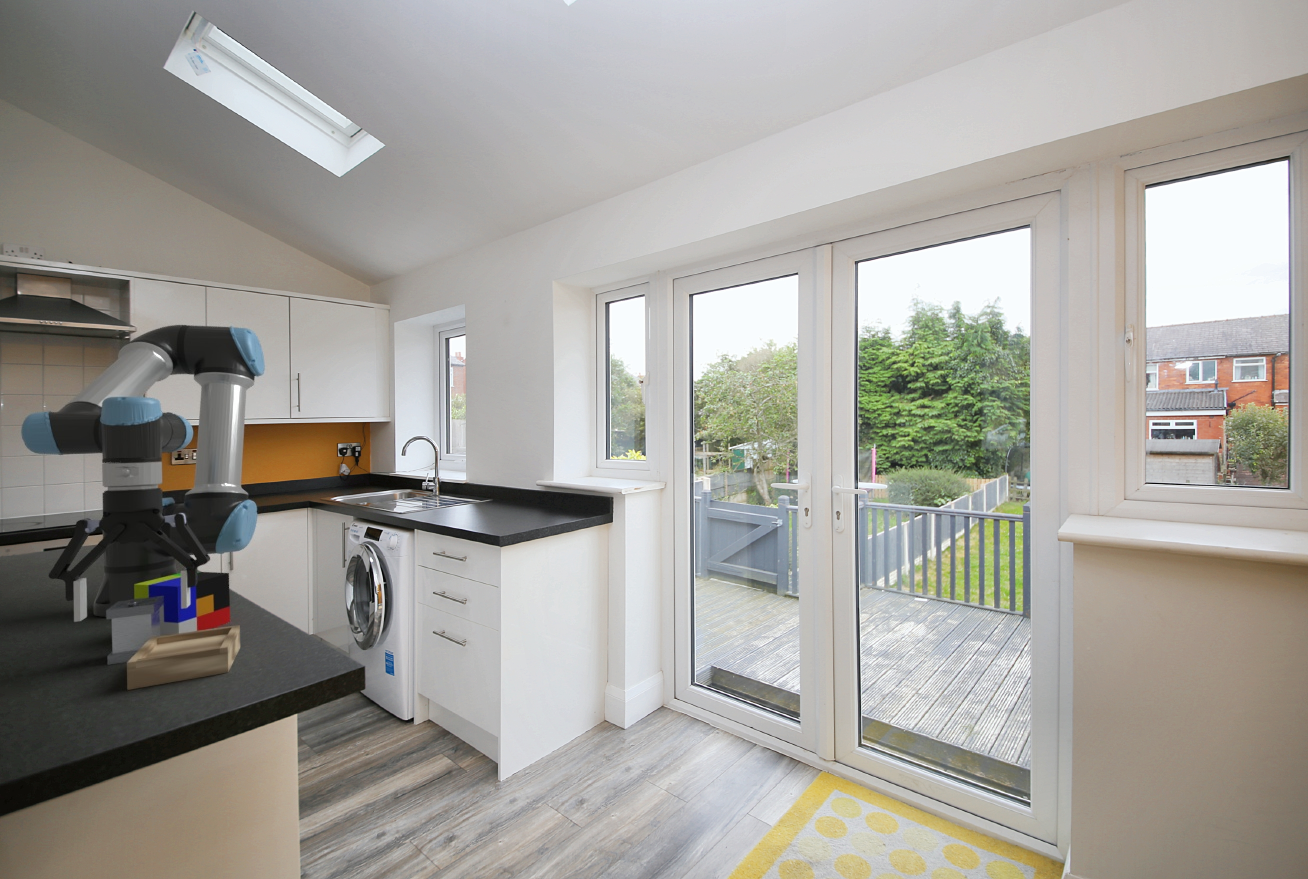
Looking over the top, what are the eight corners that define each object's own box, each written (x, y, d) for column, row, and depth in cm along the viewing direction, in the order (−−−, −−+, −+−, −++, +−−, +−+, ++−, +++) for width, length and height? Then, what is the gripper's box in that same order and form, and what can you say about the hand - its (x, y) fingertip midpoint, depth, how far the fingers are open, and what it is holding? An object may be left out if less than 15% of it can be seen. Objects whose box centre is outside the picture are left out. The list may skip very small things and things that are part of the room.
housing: (120, 652, 98) (118, 597, 98) (165, 646, 101) (163, 592, 101) (107, 664, 93) (106, 606, 93) (155, 657, 96) (153, 601, 96)
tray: (151, 661, 94) (151, 637, 94) (240, 647, 100) (239, 624, 100) (127, 689, 84) (126, 662, 84) (228, 672, 90) (227, 647, 89)
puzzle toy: (179, 641, 104) (177, 586, 104) (135, 637, 106) (134, 584, 106) (230, 622, 114) (228, 573, 113) (189, 620, 116) (188, 571, 115)
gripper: (18, 493, 88) (20, 631, 87) (220, 485, 99) (221, 606, 99) (41, 490, 94) (43, 618, 94) (227, 482, 106) (229, 596, 106)
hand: (135, 612), depth 97 cm, fingers open, 13 cm apart
